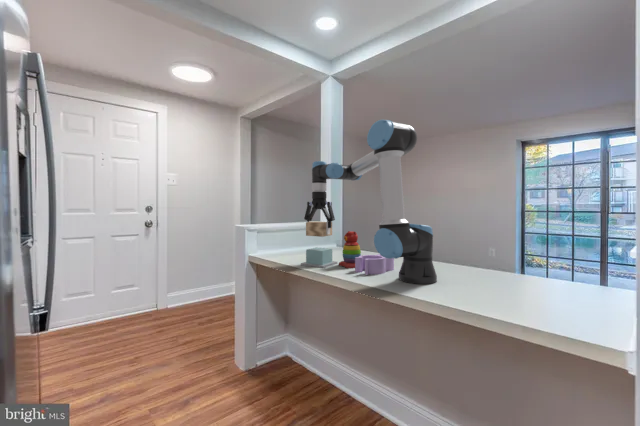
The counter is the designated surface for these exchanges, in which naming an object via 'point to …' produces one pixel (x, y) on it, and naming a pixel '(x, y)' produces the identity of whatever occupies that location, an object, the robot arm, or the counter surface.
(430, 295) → the counter surface
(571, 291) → the counter surface
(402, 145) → the robot arm
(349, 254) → the stacking bear
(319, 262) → the tower base
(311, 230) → the oak brick
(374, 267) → the clip
